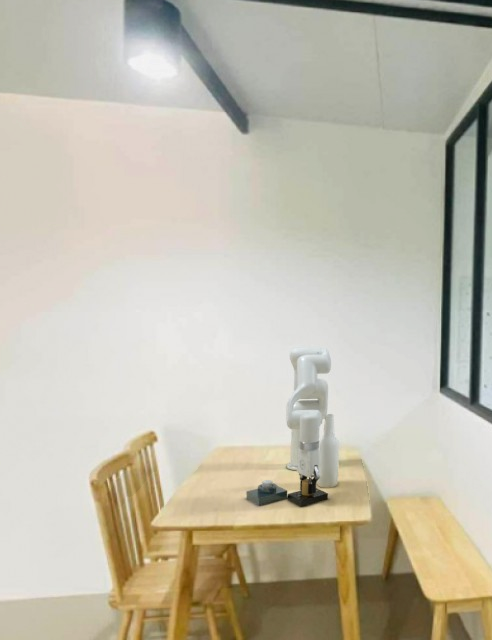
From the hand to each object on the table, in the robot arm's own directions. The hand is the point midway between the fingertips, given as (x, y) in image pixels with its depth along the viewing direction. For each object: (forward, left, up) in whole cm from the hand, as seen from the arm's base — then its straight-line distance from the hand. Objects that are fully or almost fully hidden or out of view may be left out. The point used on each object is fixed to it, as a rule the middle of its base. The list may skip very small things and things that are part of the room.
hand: (307, 491), depth 198 cm
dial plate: (0, 0, -3) cm, 3 cm away
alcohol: (-16, -10, -4) cm, 19 cm away
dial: (0, 0, -1) cm, 1 cm away
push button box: (+11, -12, -3) cm, 17 cm away
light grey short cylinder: (+11, -12, +1) cm, 16 cm away
